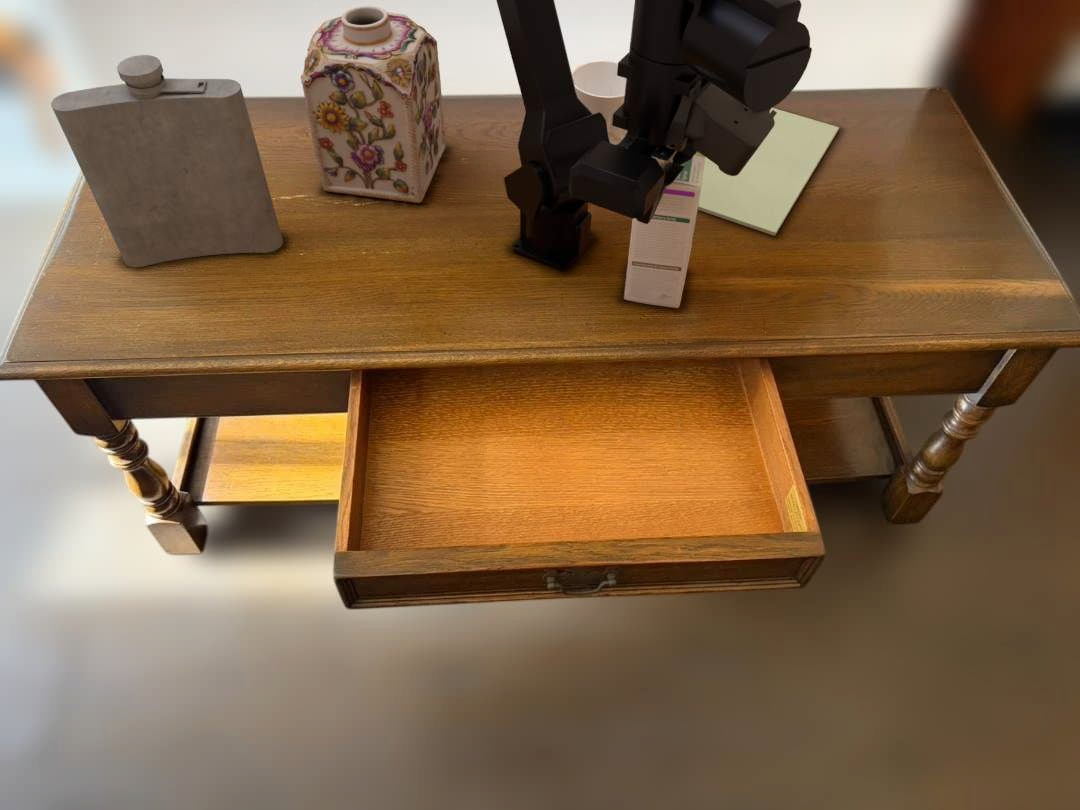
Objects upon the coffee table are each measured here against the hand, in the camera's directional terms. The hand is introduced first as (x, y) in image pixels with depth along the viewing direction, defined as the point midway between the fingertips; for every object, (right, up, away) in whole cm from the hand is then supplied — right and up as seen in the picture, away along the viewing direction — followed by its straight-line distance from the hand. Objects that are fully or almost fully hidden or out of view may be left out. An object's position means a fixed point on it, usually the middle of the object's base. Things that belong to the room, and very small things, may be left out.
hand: (644, 220), depth 72 cm
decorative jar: (-27, +11, +24) cm, 38 cm away
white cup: (-2, +13, +27) cm, 30 cm away
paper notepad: (+17, +13, +27) cm, 34 cm away
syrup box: (+3, -4, +12) cm, 13 cm away
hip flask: (-44, 0, +15) cm, 47 cm away
